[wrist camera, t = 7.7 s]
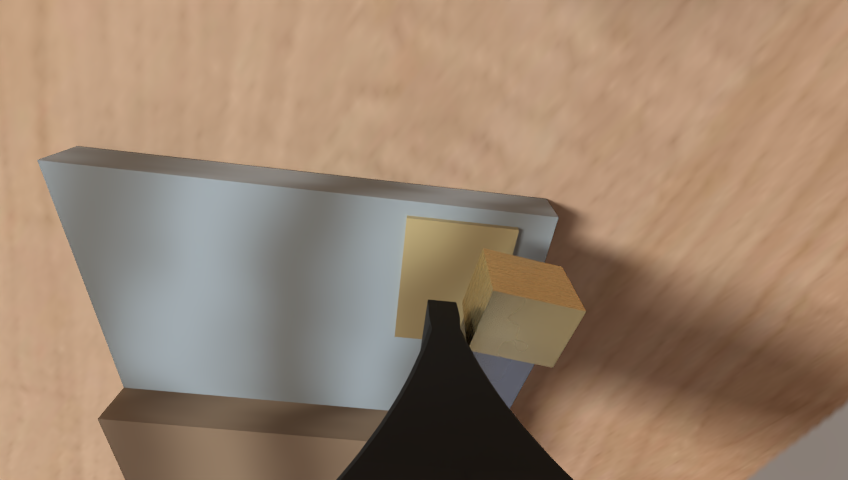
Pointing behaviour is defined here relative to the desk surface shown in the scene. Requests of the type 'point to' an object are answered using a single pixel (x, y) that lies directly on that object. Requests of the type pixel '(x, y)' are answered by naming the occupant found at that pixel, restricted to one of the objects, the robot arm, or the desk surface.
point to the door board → (266, 302)
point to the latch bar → (517, 317)
